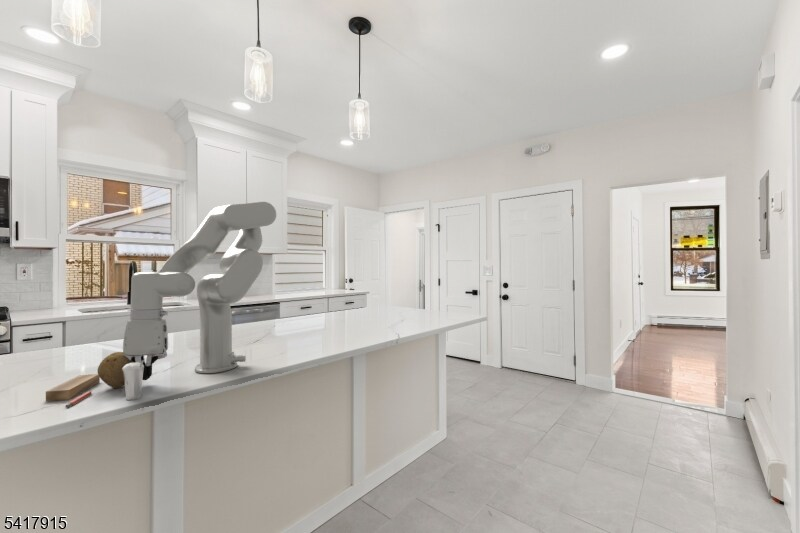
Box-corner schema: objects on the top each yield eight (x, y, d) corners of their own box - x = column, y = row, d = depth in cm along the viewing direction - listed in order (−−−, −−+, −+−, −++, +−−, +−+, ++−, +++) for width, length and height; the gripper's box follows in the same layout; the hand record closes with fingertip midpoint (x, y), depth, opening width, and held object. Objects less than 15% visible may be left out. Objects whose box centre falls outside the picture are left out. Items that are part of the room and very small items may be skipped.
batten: (99, 382, 107) (99, 373, 107) (69, 399, 93) (69, 389, 93) (79, 383, 106) (79, 375, 106) (45, 401, 92) (45, 391, 92)
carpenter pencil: (91, 394, 97) (91, 391, 97) (68, 407, 88) (68, 404, 88) (87, 394, 97) (87, 391, 97) (64, 408, 88) (64, 404, 88)
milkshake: (135, 402, 92) (135, 362, 91) (117, 400, 93) (117, 361, 93) (151, 395, 96) (150, 358, 96) (134, 394, 97) (133, 357, 97)
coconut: (95, 387, 103) (94, 352, 103) (133, 379, 109) (133, 346, 109) (100, 395, 96) (100, 357, 96) (140, 386, 103) (140, 351, 103)
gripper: (180, 313, 110) (178, 374, 109) (122, 314, 106) (120, 377, 105) (171, 316, 102) (169, 381, 102) (109, 317, 99) (107, 384, 98)
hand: (144, 379), depth 104 cm, fingers closed
